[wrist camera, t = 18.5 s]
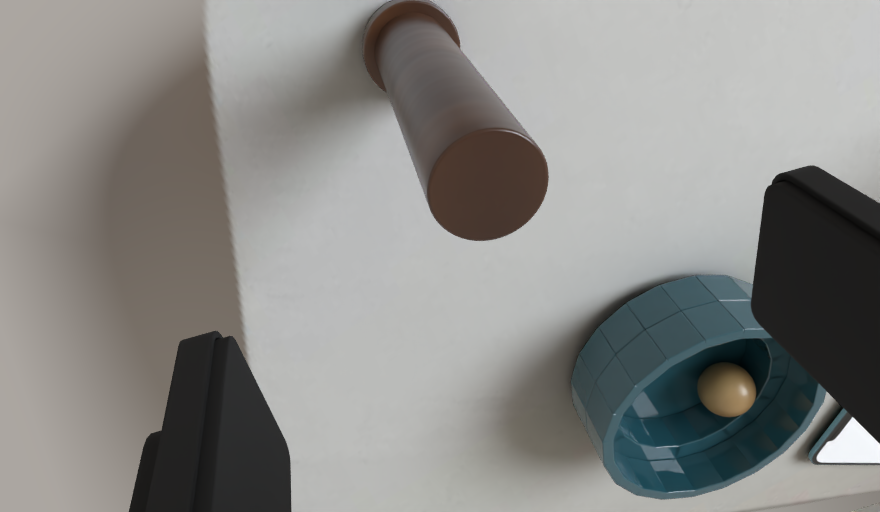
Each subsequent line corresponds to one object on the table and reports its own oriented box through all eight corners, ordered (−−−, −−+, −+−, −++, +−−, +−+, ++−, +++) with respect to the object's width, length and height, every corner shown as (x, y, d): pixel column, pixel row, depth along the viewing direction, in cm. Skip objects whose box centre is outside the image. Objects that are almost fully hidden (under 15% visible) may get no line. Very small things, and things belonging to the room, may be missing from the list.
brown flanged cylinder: (376, 103, 25) (429, 274, 15) (349, 10, 23) (390, 137, 13) (464, 79, 25) (573, 232, 15) (445, -16, 23) (557, 90, 13)
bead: (676, 385, 36) (708, 428, 34) (708, 349, 35) (743, 390, 33) (711, 387, 38) (743, 428, 36) (743, 352, 36) (778, 393, 34)
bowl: (574, 451, 39) (606, 522, 35) (559, 302, 32) (598, 369, 28) (756, 399, 40) (809, 463, 36) (779, 243, 33) (849, 300, 29)
